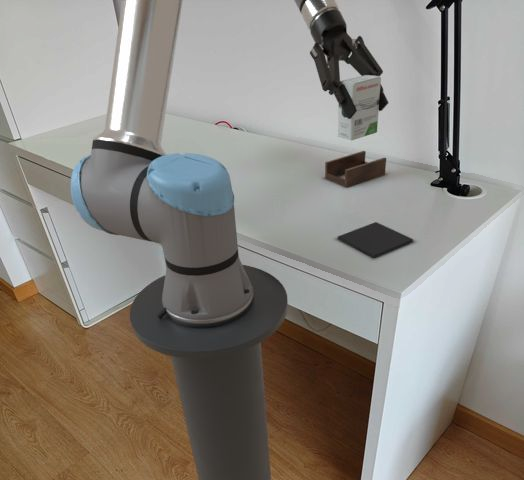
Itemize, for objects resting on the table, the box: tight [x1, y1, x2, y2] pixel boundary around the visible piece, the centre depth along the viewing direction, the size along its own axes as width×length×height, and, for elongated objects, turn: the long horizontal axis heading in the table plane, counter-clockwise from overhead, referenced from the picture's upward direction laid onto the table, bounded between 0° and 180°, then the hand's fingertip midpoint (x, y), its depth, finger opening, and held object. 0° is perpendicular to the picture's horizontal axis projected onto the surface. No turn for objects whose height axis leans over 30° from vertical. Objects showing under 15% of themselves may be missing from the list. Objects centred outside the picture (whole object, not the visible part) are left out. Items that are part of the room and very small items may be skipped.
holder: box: [324, 150, 387, 188], centre depth 121 cm, size 12×8×4 cm, turn 124°
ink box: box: [337, 75, 382, 141], centre depth 112 cm, size 9×5×12 cm, turn 126°
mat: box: [337, 221, 414, 259], centre depth 95 cm, size 10×10×1 cm
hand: (368, 110), depth 110 cm, fingers closed on ink box, 9 cm apart
